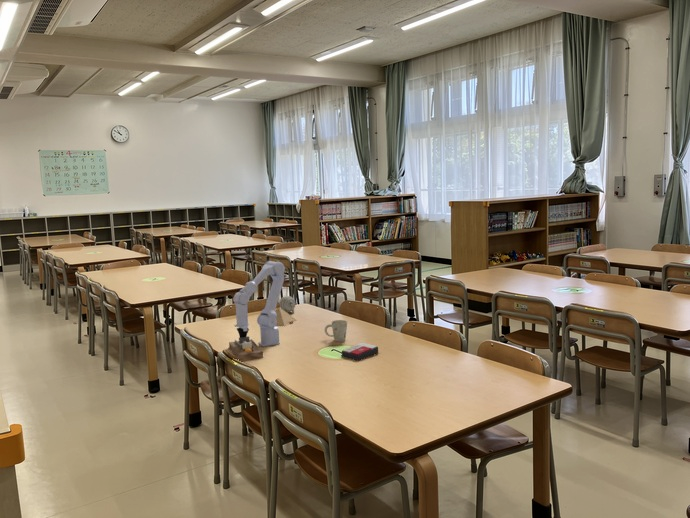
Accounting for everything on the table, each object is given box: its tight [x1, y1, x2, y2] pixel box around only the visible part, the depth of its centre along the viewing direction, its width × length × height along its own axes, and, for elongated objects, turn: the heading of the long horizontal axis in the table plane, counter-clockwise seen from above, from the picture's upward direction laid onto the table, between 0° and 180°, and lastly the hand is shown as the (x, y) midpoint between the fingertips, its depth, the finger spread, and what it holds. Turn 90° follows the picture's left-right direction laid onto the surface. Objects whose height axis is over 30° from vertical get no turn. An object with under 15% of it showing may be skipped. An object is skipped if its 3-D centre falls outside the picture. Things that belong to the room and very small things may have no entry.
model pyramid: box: [274, 307, 298, 328], centre depth 333 cm, size 17×17×10 cm
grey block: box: [238, 335, 252, 349], centre depth 272 cm, size 5×8×4 cm, turn 22°
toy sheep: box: [279, 295, 297, 314], centre depth 358 cm, size 11×17×11 cm, turn 34°
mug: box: [324, 319, 348, 342], centre depth 291 cm, size 8×13×10 cm, turn 78°
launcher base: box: [228, 339, 264, 362], centre depth 273 cm, size 12×24×4 cm, turn 22°
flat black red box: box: [341, 342, 379, 362], centre depth 265 cm, size 11×4×15 cm
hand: (243, 341), depth 277 cm, fingers closed
